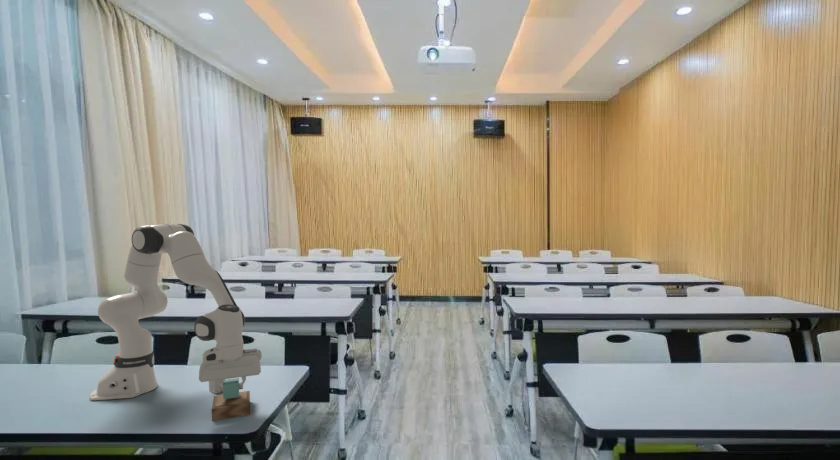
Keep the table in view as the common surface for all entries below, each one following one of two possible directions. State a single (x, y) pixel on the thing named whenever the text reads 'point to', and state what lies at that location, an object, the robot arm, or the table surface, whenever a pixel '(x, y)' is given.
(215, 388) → the skincare box
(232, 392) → the teal cube
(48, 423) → the table surface
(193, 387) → the table surface
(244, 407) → the tray
